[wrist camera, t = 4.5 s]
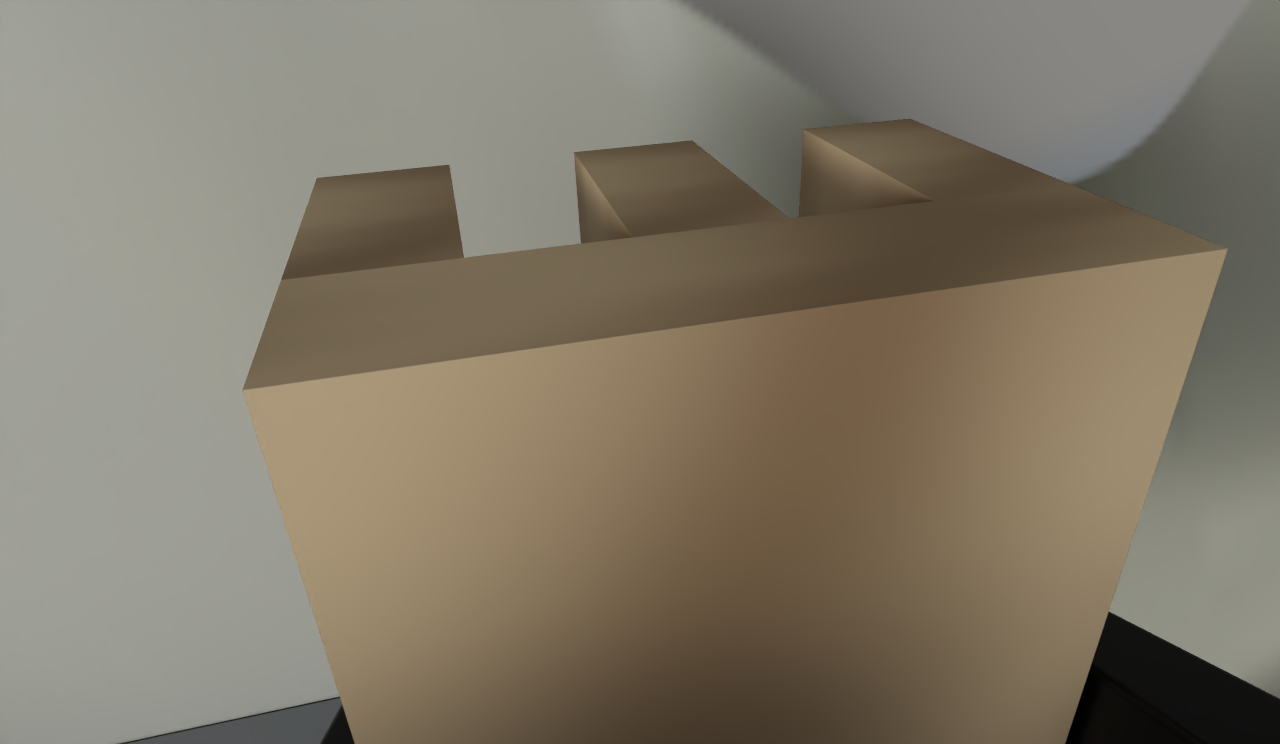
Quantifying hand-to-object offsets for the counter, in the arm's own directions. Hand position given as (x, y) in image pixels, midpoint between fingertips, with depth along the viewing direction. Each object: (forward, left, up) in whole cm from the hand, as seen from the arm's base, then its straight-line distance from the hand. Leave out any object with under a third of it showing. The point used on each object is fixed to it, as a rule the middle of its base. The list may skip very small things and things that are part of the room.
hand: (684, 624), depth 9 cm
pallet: (0, 0, -2) cm, 2 cm away
